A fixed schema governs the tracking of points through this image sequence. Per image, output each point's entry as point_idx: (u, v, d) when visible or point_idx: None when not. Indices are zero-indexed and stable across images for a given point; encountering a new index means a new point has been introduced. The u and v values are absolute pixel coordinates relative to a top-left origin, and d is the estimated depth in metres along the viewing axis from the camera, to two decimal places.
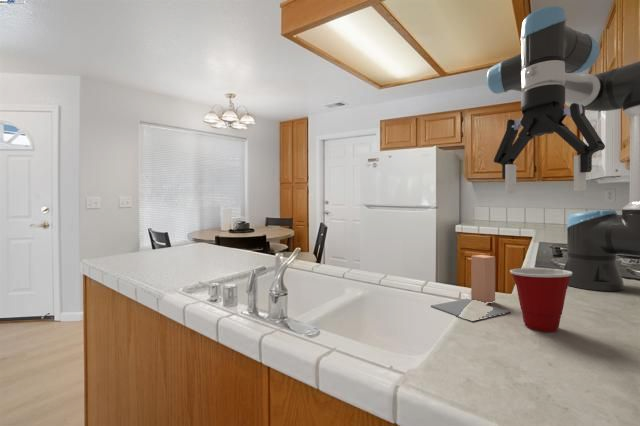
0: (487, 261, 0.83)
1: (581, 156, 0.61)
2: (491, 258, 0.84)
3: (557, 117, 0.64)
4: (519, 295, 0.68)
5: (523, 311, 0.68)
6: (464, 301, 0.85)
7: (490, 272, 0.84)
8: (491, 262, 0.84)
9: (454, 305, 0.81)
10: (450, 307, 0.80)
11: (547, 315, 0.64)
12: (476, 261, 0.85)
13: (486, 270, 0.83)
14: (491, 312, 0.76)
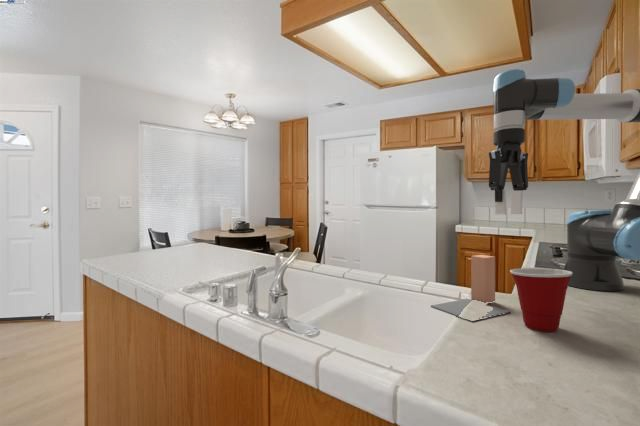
0: (487, 261, 0.83)
1: None
2: (491, 258, 0.84)
3: None
4: (519, 295, 0.68)
5: (523, 311, 0.68)
6: (464, 301, 0.85)
7: (490, 272, 0.84)
8: (491, 262, 0.84)
9: (454, 305, 0.81)
10: (450, 307, 0.80)
11: (547, 315, 0.64)
12: (476, 261, 0.85)
13: (486, 270, 0.83)
14: (491, 312, 0.76)
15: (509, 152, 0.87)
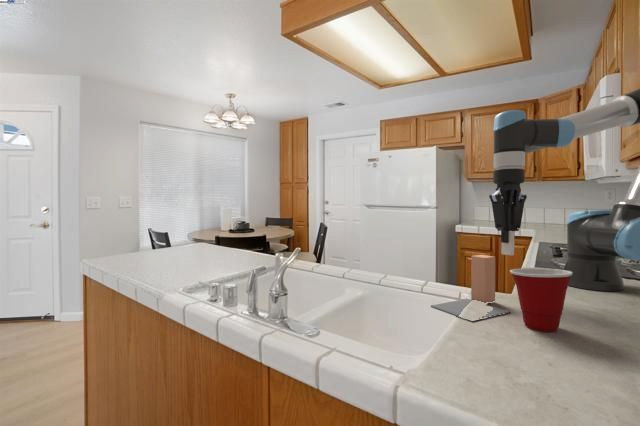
0: (487, 261, 0.83)
1: None
2: (491, 258, 0.84)
3: None
4: (519, 295, 0.68)
5: (523, 311, 0.68)
6: (464, 301, 0.85)
7: (490, 272, 0.84)
8: (491, 262, 0.84)
9: (454, 305, 0.81)
10: (450, 307, 0.80)
11: (547, 315, 0.64)
12: (476, 261, 0.85)
13: (486, 270, 0.83)
14: (491, 312, 0.76)
15: (509, 193, 0.88)
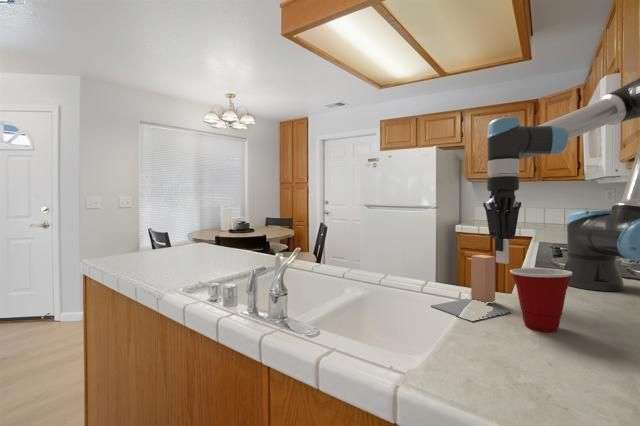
0: (487, 261, 0.83)
1: None
2: (491, 258, 0.84)
3: None
4: (519, 295, 0.68)
5: (523, 311, 0.68)
6: (464, 301, 0.85)
7: (490, 272, 0.84)
8: (491, 262, 0.84)
9: (454, 305, 0.81)
10: (450, 307, 0.80)
11: (547, 315, 0.64)
12: (476, 261, 0.85)
13: (486, 270, 0.83)
14: (491, 312, 0.76)
15: (503, 201, 0.87)
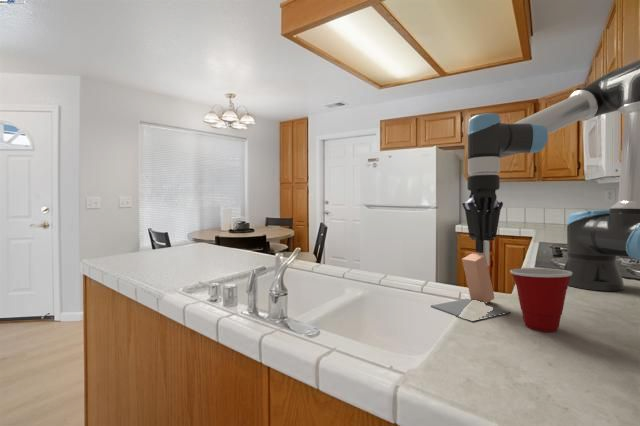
0: (478, 263, 0.82)
1: None
2: (482, 258, 0.82)
3: None
4: (519, 295, 0.68)
5: (523, 311, 0.68)
6: (464, 301, 0.85)
7: (483, 272, 0.83)
8: (482, 262, 0.82)
9: (454, 305, 0.81)
10: (450, 307, 0.80)
11: (547, 315, 0.64)
12: (467, 264, 0.84)
13: (479, 272, 0.82)
14: (491, 312, 0.76)
15: (483, 201, 0.83)
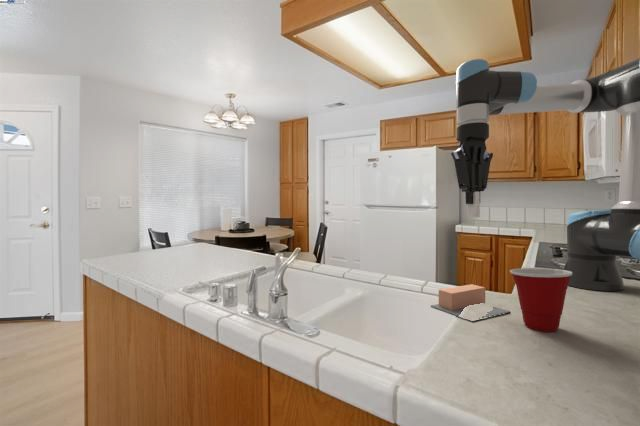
0: (454, 305, 0.78)
1: None
2: (452, 299, 0.78)
3: None
4: (519, 295, 0.68)
5: (523, 311, 0.68)
6: None
7: (463, 298, 0.79)
8: (455, 298, 0.78)
9: None
10: None
11: (547, 315, 0.64)
12: None
13: (461, 305, 0.79)
14: (491, 312, 0.76)
15: (472, 150, 0.81)
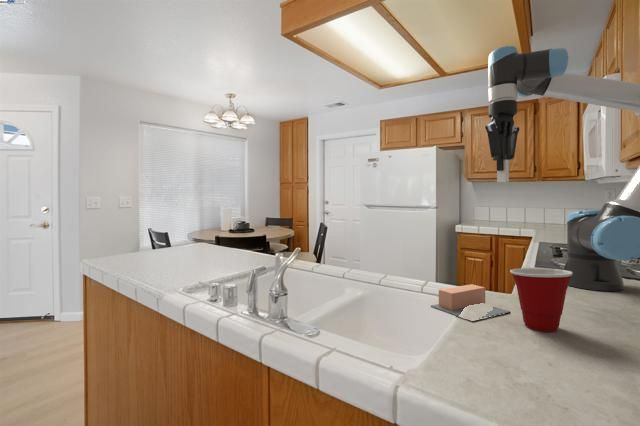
0: (454, 305, 0.78)
1: None
2: (452, 299, 0.78)
3: None
4: (519, 295, 0.68)
5: (523, 311, 0.68)
6: None
7: (463, 298, 0.79)
8: (455, 298, 0.78)
9: None
10: None
11: (547, 315, 0.64)
12: None
13: (461, 305, 0.79)
14: (491, 312, 0.76)
15: (503, 124, 0.95)
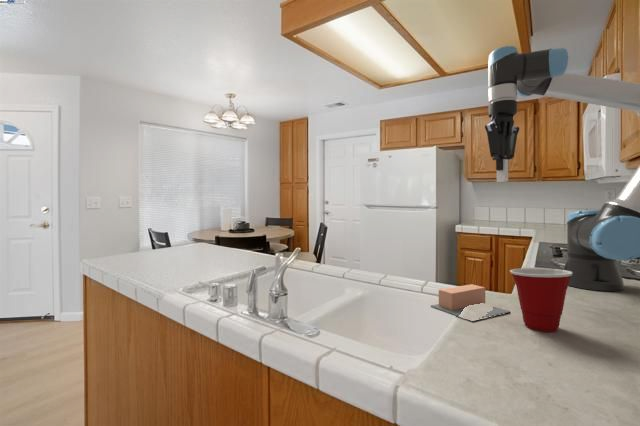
0: (454, 305, 0.78)
1: None
2: (452, 299, 0.78)
3: None
4: (519, 295, 0.68)
5: (523, 311, 0.68)
6: None
7: (463, 298, 0.79)
8: (455, 298, 0.78)
9: None
10: None
11: (547, 315, 0.64)
12: None
13: (461, 305, 0.79)
14: (491, 312, 0.76)
15: (502, 123, 0.95)
